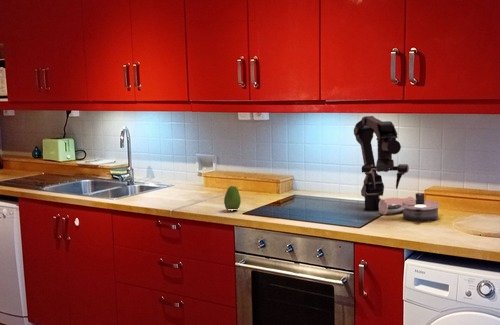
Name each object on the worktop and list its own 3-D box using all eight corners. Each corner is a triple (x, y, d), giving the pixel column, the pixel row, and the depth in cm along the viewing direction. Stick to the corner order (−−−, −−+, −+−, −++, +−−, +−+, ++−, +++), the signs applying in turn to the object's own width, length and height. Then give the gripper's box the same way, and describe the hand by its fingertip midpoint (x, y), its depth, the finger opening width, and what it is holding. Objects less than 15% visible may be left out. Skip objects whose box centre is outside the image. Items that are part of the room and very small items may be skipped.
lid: (399, 209, 240) (398, 196, 239) (403, 202, 254) (403, 190, 253) (437, 210, 234) (437, 197, 234) (440, 203, 248) (440, 190, 247)
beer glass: (418, 203, 255) (389, 207, 249) (412, 214, 259) (383, 218, 254) (410, 192, 259) (381, 195, 254) (405, 203, 264) (376, 206, 258)
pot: (399, 223, 237) (399, 211, 236) (405, 213, 254) (404, 202, 253) (436, 224, 232) (436, 212, 231) (439, 214, 249) (439, 202, 248)
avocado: (243, 211, 275) (242, 186, 273) (227, 213, 272) (225, 188, 271) (238, 208, 282) (237, 183, 281) (222, 210, 280) (221, 185, 279)
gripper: (358, 154, 242) (359, 191, 244) (405, 154, 236) (406, 192, 238) (363, 151, 253) (364, 187, 255) (408, 150, 246) (409, 187, 248)
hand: (385, 188), depth 248 cm, fingers open, 9 cm apart
